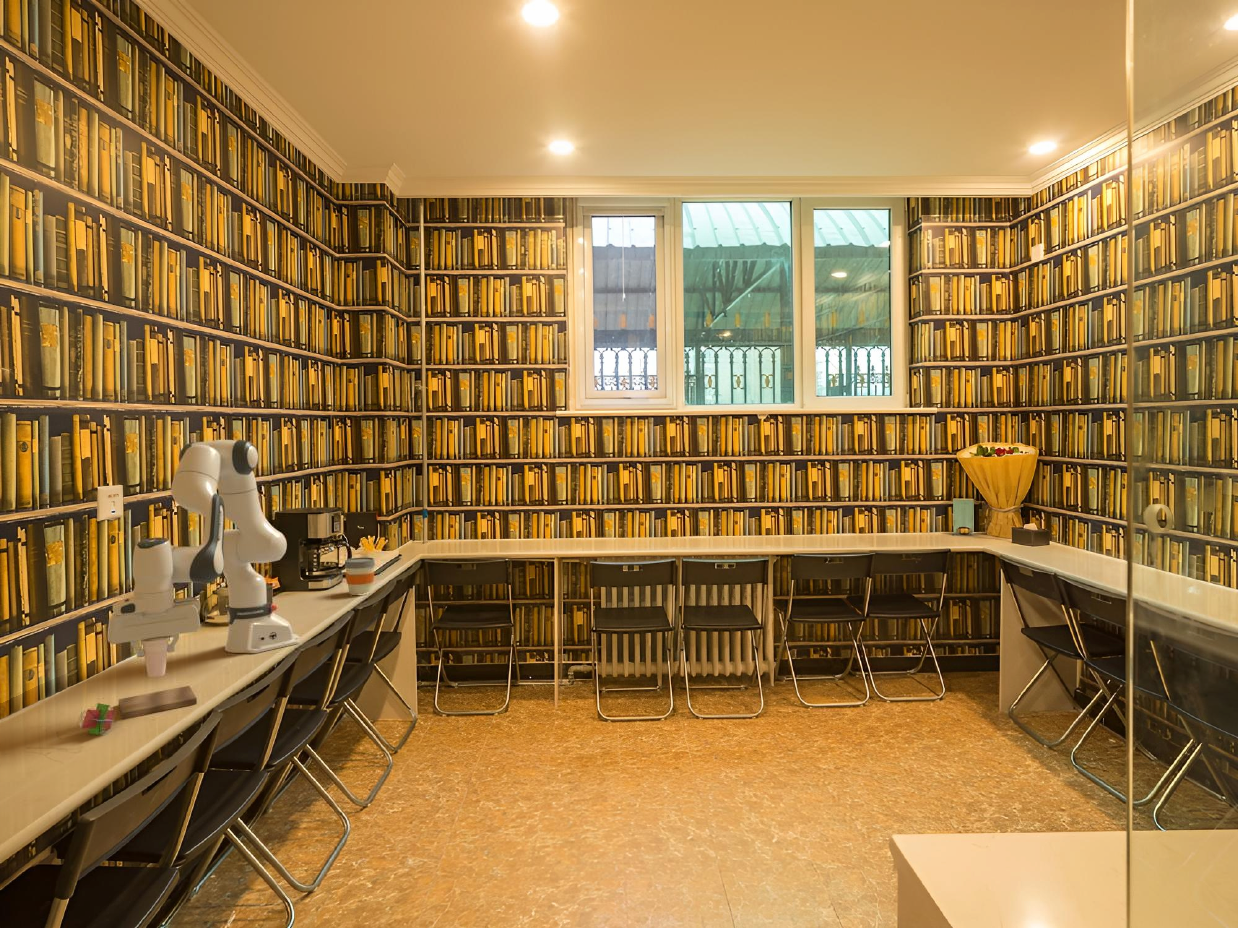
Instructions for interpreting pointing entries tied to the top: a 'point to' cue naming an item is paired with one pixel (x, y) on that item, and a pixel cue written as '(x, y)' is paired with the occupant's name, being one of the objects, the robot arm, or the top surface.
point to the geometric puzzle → (97, 719)
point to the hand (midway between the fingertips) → (155, 654)
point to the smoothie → (155, 655)
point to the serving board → (157, 701)
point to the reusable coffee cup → (359, 574)
